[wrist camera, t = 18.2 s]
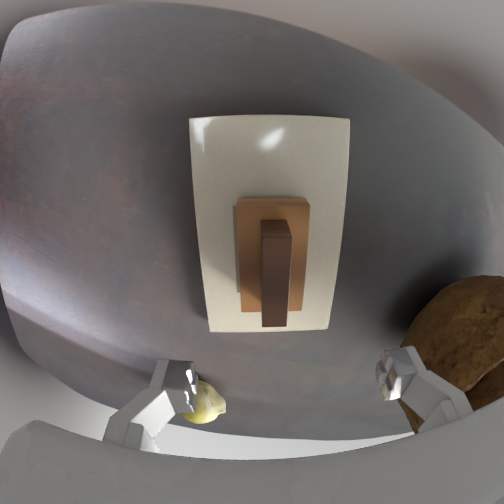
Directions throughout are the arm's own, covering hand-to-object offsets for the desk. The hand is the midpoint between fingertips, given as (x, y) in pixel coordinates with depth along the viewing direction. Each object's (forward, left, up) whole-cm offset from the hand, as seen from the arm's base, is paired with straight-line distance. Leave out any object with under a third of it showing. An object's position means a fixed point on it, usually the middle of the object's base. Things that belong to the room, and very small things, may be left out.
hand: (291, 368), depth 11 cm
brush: (+1, 0, -13) cm, 13 cm away
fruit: (+22, -10, -15) cm, 29 cm away
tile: (0, 0, -15) cm, 15 cm away
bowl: (+11, +22, -15) cm, 29 cm away
